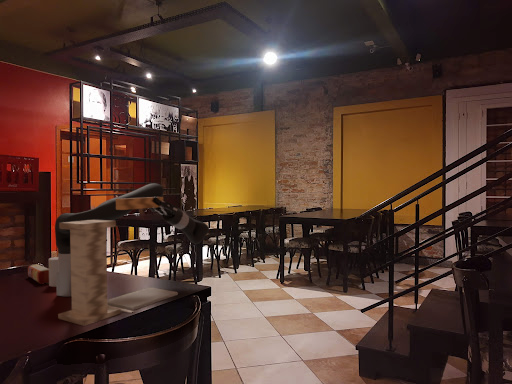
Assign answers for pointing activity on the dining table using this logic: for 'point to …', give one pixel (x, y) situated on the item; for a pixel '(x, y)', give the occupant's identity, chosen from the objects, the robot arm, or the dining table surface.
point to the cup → (53, 271)
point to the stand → (88, 272)
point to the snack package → (39, 273)
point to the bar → (136, 203)
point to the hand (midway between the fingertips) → (149, 199)
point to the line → (123, 309)
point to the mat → (140, 298)
